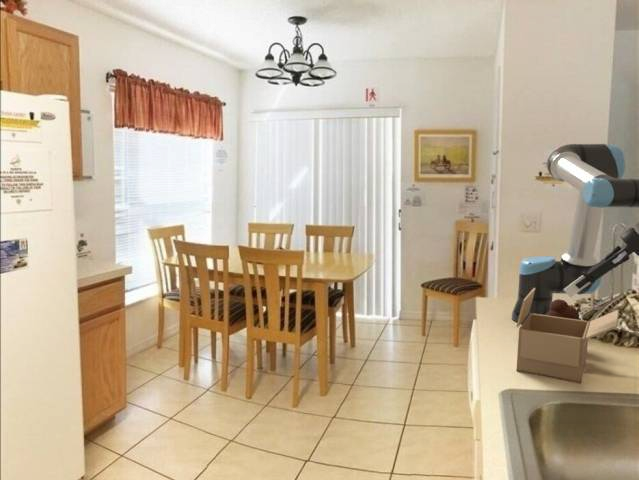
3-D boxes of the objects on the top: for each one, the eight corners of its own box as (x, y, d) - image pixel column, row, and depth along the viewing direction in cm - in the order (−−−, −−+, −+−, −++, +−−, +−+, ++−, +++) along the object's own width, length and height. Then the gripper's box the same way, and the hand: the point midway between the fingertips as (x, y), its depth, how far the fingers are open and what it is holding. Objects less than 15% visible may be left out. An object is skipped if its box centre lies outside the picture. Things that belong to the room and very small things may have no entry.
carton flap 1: (529, 312, 162) (527, 312, 162) (535, 288, 160) (533, 287, 160) (518, 327, 146) (516, 326, 147) (525, 300, 145) (523, 300, 145)
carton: (528, 351, 164) (530, 313, 162) (586, 361, 156) (589, 321, 154) (515, 371, 147) (518, 329, 146) (580, 384, 139) (584, 339, 138)
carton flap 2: (618, 309, 150) (619, 311, 149) (590, 321, 153) (591, 322, 153) (616, 325, 134) (617, 327, 134) (585, 337, 138) (586, 339, 138)
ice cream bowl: (542, 351, 164) (546, 303, 162) (541, 340, 175) (544, 295, 173) (580, 355, 161) (584, 306, 159) (577, 344, 171) (580, 298, 169)
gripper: (632, 224, 143) (560, 278, 154) (632, 228, 132) (554, 287, 143) (654, 245, 142) (579, 299, 152) (656, 251, 130) (575, 309, 141)
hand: (567, 293), depth 147 cm, fingers closed
